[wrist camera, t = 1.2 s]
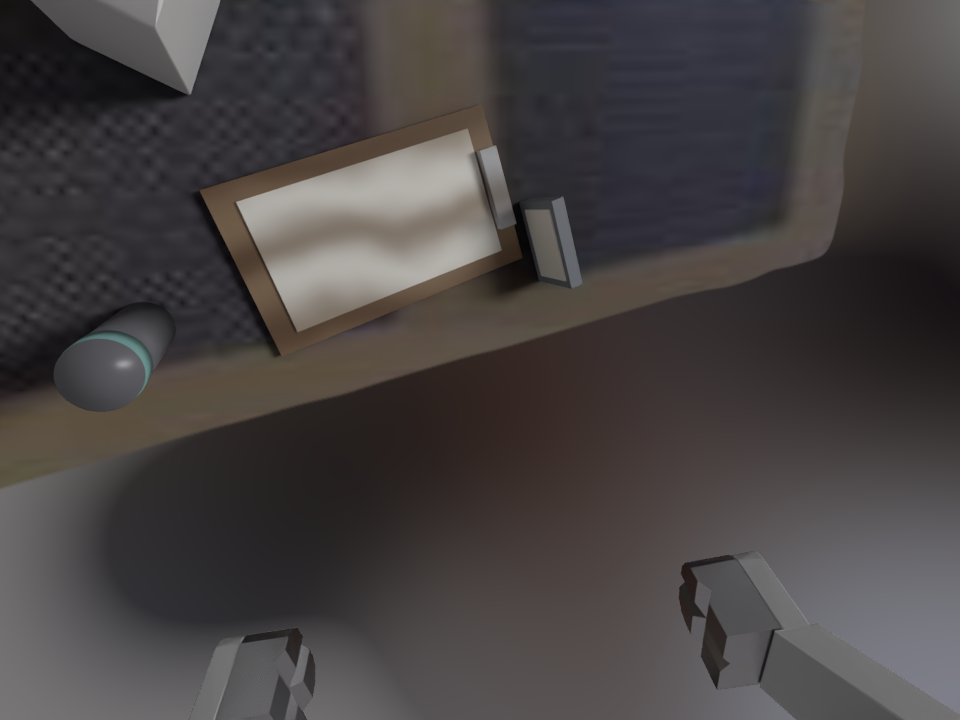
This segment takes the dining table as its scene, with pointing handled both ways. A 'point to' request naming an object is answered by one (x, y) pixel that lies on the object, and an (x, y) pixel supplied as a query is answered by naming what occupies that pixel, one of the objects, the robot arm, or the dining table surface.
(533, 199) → the picture frame
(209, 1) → the milk carton
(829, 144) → the dining table surface
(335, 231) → the clipboard
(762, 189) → the dining table surface
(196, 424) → the dining table surface
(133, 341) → the microphone
